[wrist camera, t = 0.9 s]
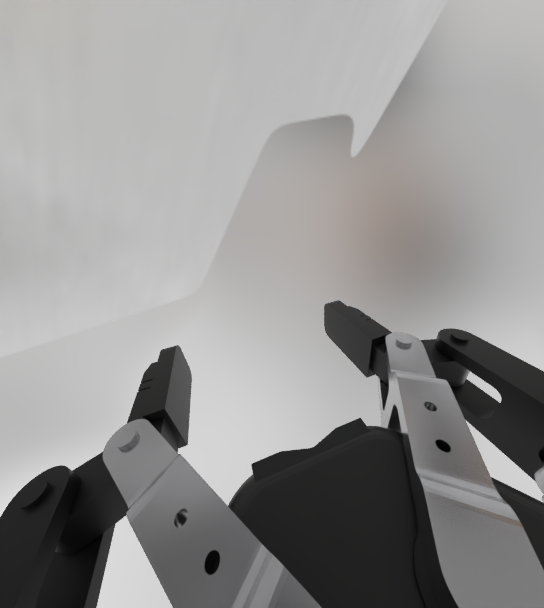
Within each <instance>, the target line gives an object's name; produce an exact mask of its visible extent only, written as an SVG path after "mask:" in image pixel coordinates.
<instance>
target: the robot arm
mask: <svg viewBox="0 0 544 608" xmlns="http://www.w3.org/2000/svg"><path fill="white" fill-rule="evenodd" d="M324 311H325V312H324V317H325V318H324V323H325V324H324V325H325V331H326V333H327V335H328V336H329V338H330V339H331V340H332V341H333V342H334V343H335V344H336V345H337V346H338V347H339V348H340V349H341V350H342V351H343V353H344V354H345V355H346V356H347V357H348V358H349V359H350V360H351V361H352V362H353V363H354V364H355V365H356V366H357V368H358V369H359V370H360V371H361V372H362V373H363V374H364V375H365V376H366V377H369V376H372V375H375V374H376V375H377V376H378V389H379V399H380V409H381V427H378V426H366V425H365V423H364V422H363V421H362V419H361V418H359V419H356V420H354V421H352V422H350V423H347V424H345V425H342V426H340V427H338V428H336V429H335V430H333V431H332V432H331V433H330V434H329V435H328V436H326V437H325V438H324V439H323V440H322V441H321V442H319V443H318V444H317V445H316V446H315V447H313V448H310V449H300V450H291V451H282V452H279V453H276V454H274V455H272V456H269V457H267V458H265V459H262V460H260V461H257V462H255V463H253V464H252V470H253V475H252V476H251V477H249V478H248V479H247V480H246V481H245V482H244V483H243V485H242V486H241V487H240V488H239V490H238V491H237V492H236V493H235V495H234V497H233V498H232V500H231V502H230V503H229V505H228V506H227V505H226V504H225V503H224V502H223V501H222V499H221V498H220V497H219V496H218V495H217V494H216V493H215V492H214V491H213V489H212V488H211V487H210V486H209V485H208V484H207V483H206V482H205V481H204V480H203V479H202V477H201V476H200V475H199V474H198V473H197V472H196V471H195V470H194V469H193V467H192V466H191V465H190V464H189V463H188V462H187V461H186V460H185V459H184V458H183V457H182V456H181V455H180V454H178V453H177V452H178V448H181V447H183V446H186V445H187V444H188V429H189V413H190V397H191V381H192V378H191V371H190V368H189V366H188V363H187V361H186V359H185V357H184V355H183V353H182V351H181V348H180V347H179V346H178V345H177V346H174V347H170V348H166V349H163V350H161V352H160V355H159V359H158V362H155V363H152V364H151V365H150V366H149V368H148V369H147V370H146V371H145V373H144V375H143V378H142V381H141V384H140V387H139V390H138V391H139V392H138V393H137V396H136V398H135V401H134V404H133V407H132V410H131V413H130V416H129V419H128V422H127V424H126V425H124V426H123V427H121V428H120V429H119V430H118V431H117V432H116V433H115V434H114V435H113V436H112V437H111V438H110V440H109V441H108V442H107V444H106V446H105V448H104V451H103V452H102V453H100V454H99V455H97V456H96V457H94V458H92V459H91V460H89V461H87V462H86V463H84V464H83V465H81V466H80V467H78V468H76V469H75V470H73V471H71V470H70V469H69V468H68V467H66V466H56V467H53V468H51V469H48V470H46V471H45V472H43V473H41V474H40V475H38V476H37V477H35V478H34V479H32V480H31V481H30V482H29V483H28V484H27V485H25V486H24V487H23V488H22V489H21V490H20V491H19V492H18V493H17V494H16V496H15V497H14V498H13V499H12V501H11V502H10V503H9V504H8V506H7V507H6V509H5V511H4V512H3V514H2V516H1V517H0V608H96V606H97V602H98V598H99V593H100V589H101V584H102V580H103V575H104V571H105V567H106V562H107V557H108V553H109V549H110V545H111V540H112V536H113V532H114V527H115V523H117V522H118V521H119V520H120V519H122V518H123V517H124V516H126V515H127V518H128V520H129V523H130V525H131V526H132V528H133V530H134V532H135V534H136V536H137V538H138V540H139V542H140V544H141V546H142V548H143V550H144V552H145V554H146V556H147V558H148V559H149V562H150V564H151V565H152V567H153V569H154V571H155V573H156V575H157V577H158V579H159V581H160V583H161V585H162V587H163V589H164V591H165V593H166V595H167V596H168V598H169V600H170V602H171V604H172V606H173V608H544V495H543V496H542V501H543V502H541V501H538V500H536V499H534V498H532V497H530V496H528V495H526V494H524V493H522V492H520V491H518V490H516V489H514V488H512V487H510V486H508V485H506V484H504V483H502V482H500V481H498V480H496V479H494V478H492V477H490V475H489V472H488V470H487V468H486V466H485V464H484V461H483V459H482V457H481V454H480V452H479V450H478V448H477V445H476V443H475V441H474V439H473V437H472V434H471V432H470V430H469V428H468V425H467V423H466V421H465V420H467V421H468V422H469V423H470V424H471V425H472V426H474V427H475V428H476V429H477V430H478V431H479V432H480V433H481V434H482V435H484V436H485V437H486V438H487V439H488V440H489V441H490V442H492V443H493V444H494V445H495V446H496V447H497V448H498V449H499V450H501V451H502V452H503V453H504V454H505V455H506V456H507V457H509V458H510V459H511V460H512V461H513V462H514V463H515V464H516V465H518V466H519V467H520V468H521V469H522V470H524V472H525V473H527V474H528V475H529V476H530V477H531V478H532V479H534V480H535V481H536V483H537V485H538V486H539V488H540V489H541V491H542V492H543V494H544V372H543V371H541V370H540V369H538V368H536V367H534V366H532V365H530V364H528V363H526V362H524V361H522V360H521V359H519V358H517V357H515V356H513V355H511V354H509V353H507V352H505V351H503V350H501V349H499V348H498V347H496V346H494V345H492V344H490V343H488V342H486V341H484V340H482V339H481V338H479V337H476V336H475V335H472V334H471V333H469V332H466V331H463V330H458V329H443V330H441V331H440V332H439V333H438V336H437V339H434V340H419V339H418V338H416V337H415V336H413V335H410V334H407V333H401V332H395V333H392V332H390V331H389V330H388V329H386V328H385V327H383V326H382V325H380V324H379V323H377V322H376V321H374V320H373V319H371V318H370V317H369V316H367V315H365V314H364V313H363V312H361V311H360V310H358V309H356V308H353V307H350V306H346V305H344V304H343V303H342V302H341V301H334V302H331V303H328V304H325V307H324ZM470 371H471V372H472V373H474V374H475V375H477V376H478V377H480V378H481V379H483V380H484V381H486V382H487V383H489V384H490V385H491V386H493V387H494V388H495V389H497V391H498V392H499V393H500V395H501V397H502V401H501V403H499V402H498V401H496V400H495V399H494V398H492V397H491V396H489V395H488V394H487V393H485V392H484V391H482V390H481V389H480V388H478V387H477V386H475V385H474V384H473V383H471V382H470V381H468V380H467V379H466V378H467V376H468V374H469V372H470Z"/></svg>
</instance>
